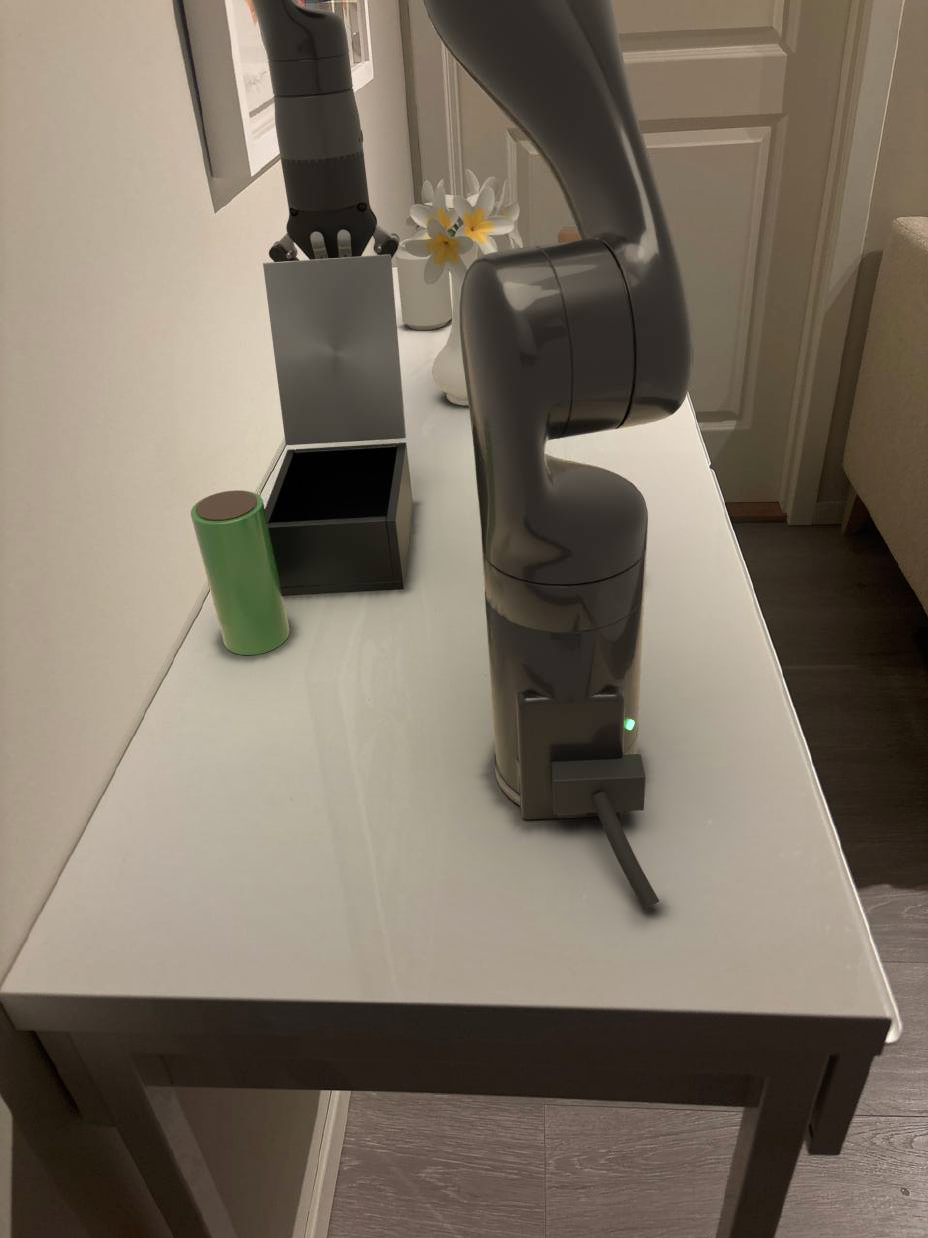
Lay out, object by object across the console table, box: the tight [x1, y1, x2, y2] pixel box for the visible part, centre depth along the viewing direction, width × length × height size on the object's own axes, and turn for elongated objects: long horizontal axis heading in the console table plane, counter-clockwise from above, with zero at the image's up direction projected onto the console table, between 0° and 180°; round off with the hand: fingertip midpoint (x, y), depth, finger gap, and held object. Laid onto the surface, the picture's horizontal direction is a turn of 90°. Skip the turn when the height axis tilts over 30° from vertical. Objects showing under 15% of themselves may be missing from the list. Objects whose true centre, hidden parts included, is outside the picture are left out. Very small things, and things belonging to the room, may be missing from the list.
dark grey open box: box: [264, 441, 414, 596], centre depth 88 cm, size 16×12×7 cm
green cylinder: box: [190, 489, 291, 656], centre depth 75 cm, size 5×5×12 cm
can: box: [395, 237, 453, 331], centre depth 141 cm, size 8×8×12 cm
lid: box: [262, 254, 407, 446], centre depth 90 cm, size 16×12×1 cm
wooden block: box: [557, 226, 580, 243], centre depth 155 cm, size 4×4×8 cm
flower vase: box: [405, 168, 524, 407], centre depth 111 cm, size 13×18×25 cm
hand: (347, 337), depth 96 cm, fingers closed
